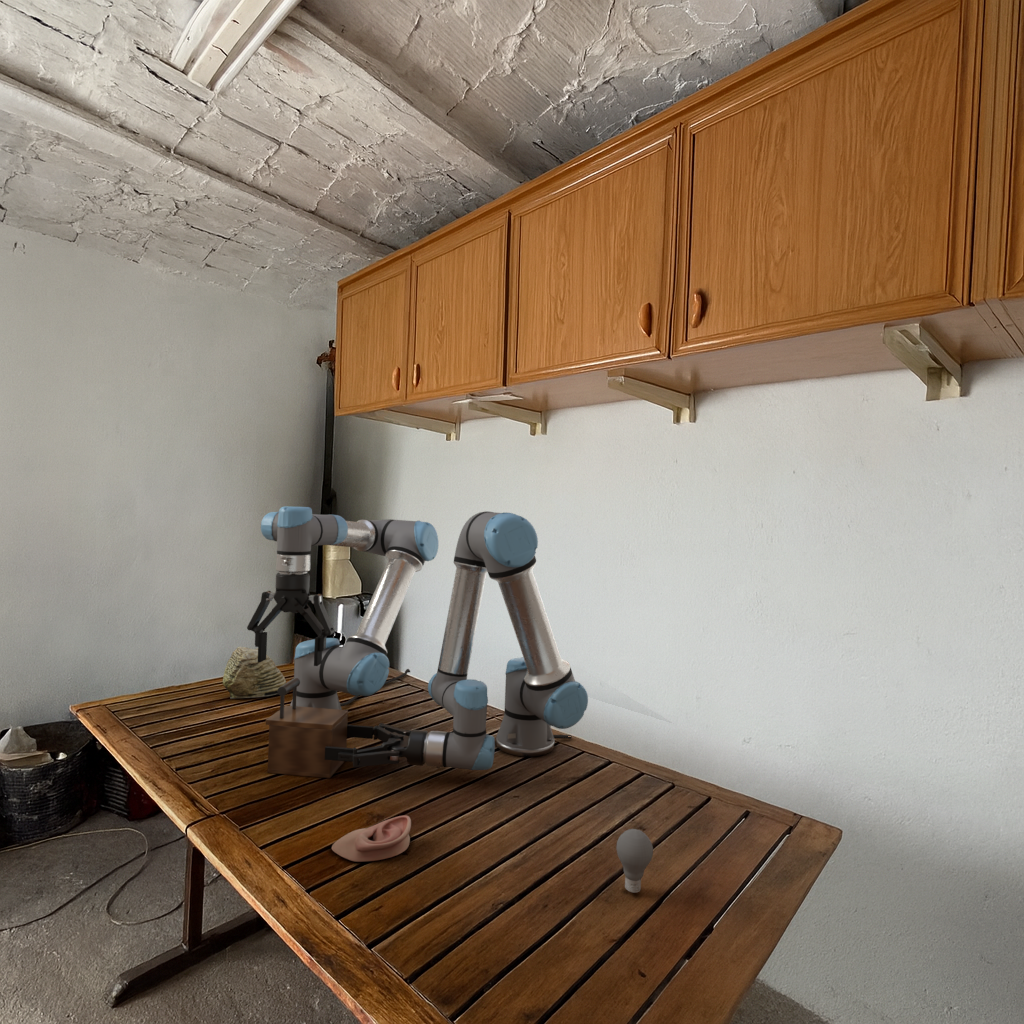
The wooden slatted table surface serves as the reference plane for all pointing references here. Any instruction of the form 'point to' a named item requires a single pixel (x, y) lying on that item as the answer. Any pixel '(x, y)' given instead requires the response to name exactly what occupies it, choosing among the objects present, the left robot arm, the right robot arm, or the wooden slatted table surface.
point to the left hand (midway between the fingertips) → (289, 662)
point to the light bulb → (634, 857)
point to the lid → (303, 712)
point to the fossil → (251, 675)
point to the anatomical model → (375, 841)
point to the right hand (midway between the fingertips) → (336, 741)
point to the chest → (304, 749)
